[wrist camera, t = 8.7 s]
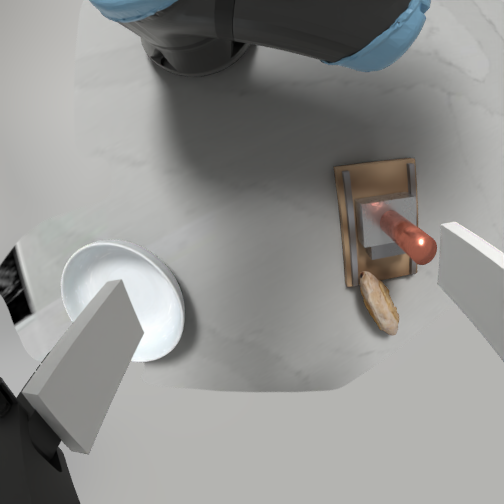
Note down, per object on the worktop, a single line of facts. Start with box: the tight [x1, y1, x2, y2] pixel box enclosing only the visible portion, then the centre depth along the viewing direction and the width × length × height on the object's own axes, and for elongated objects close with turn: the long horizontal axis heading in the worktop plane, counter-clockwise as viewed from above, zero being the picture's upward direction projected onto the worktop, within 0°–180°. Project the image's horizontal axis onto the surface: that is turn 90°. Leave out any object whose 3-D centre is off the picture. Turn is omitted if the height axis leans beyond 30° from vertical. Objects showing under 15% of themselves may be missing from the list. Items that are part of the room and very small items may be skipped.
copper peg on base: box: [355, 192, 437, 265], centre depth 35 cm, size 8×8×13 cm
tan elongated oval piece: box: [360, 271, 399, 335], centre depth 45 cm, size 5×14×4 cm
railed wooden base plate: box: [334, 158, 418, 287], centre depth 42 cm, size 18×12×2 cm, turn 11°
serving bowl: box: [61, 239, 185, 362], centre depth 45 cm, size 21×21×7 cm
